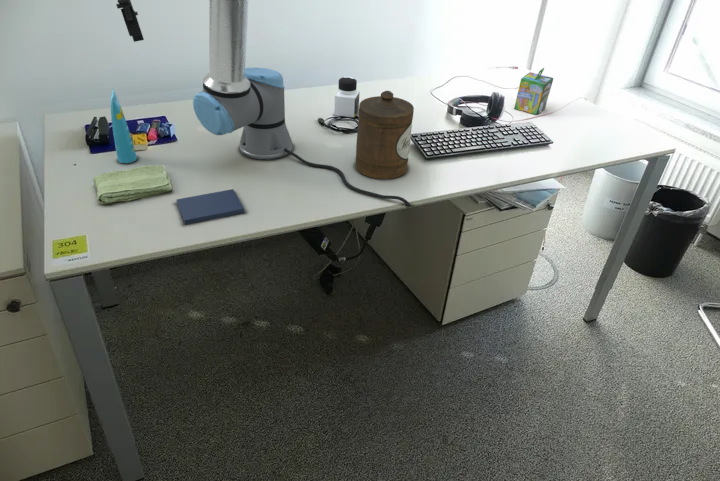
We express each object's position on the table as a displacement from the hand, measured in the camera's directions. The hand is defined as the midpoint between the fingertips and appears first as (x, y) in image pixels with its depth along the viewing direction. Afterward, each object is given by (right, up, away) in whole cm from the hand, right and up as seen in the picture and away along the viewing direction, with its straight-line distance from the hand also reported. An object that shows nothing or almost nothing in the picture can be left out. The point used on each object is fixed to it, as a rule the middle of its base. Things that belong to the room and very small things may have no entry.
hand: (137, 38), depth 139 cm
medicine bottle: (+55, -10, +40) cm, 69 cm away
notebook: (+23, -46, -13) cm, 54 cm away
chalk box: (+122, -6, +51) cm, 133 cm away
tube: (-5, -32, +5) cm, 33 cm away
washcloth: (+2, -41, -7) cm, 42 cm away
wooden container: (+66, -33, +9) cm, 74 cm away
